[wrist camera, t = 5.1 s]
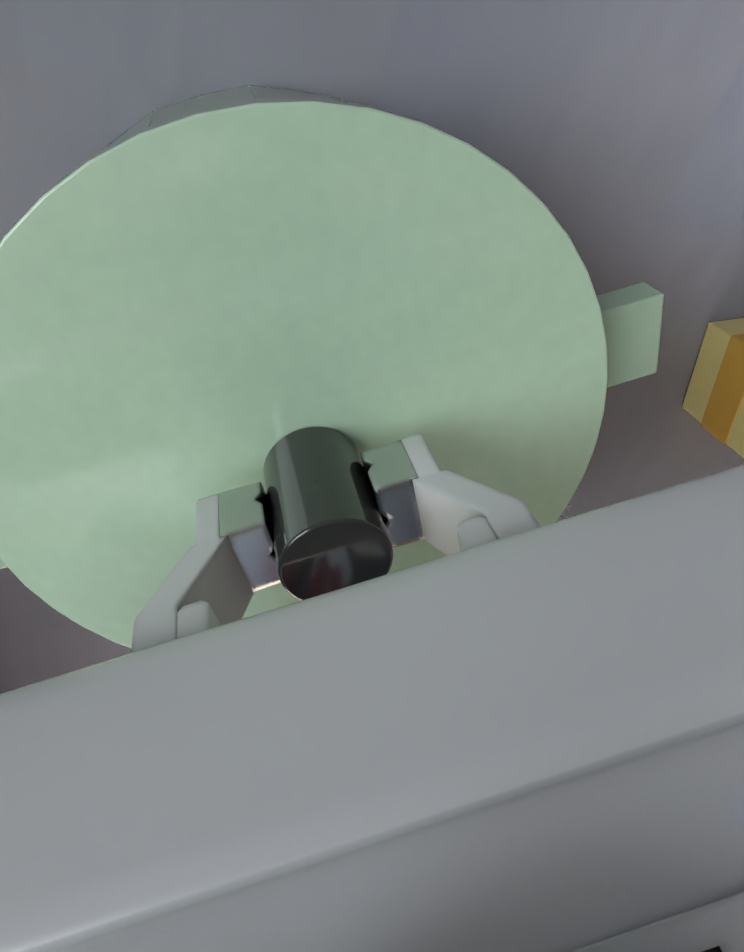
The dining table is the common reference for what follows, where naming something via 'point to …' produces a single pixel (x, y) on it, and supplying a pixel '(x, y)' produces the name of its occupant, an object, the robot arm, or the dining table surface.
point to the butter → (720, 383)
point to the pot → (623, 310)
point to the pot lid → (278, 347)
